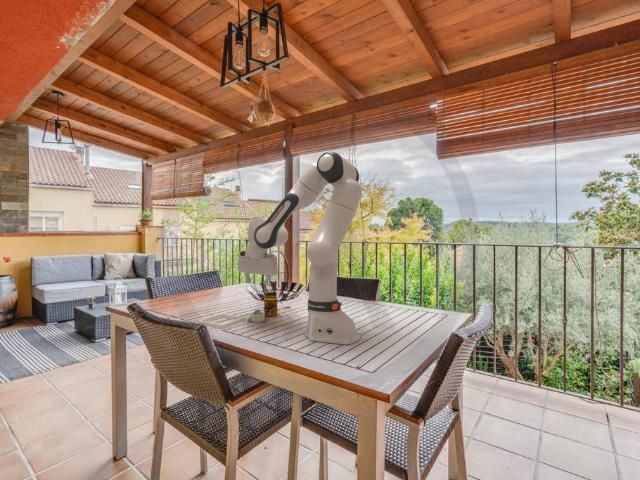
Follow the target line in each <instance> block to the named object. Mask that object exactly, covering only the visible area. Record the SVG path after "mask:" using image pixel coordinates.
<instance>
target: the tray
mask: <svg viewBox="0 0 640 480" xmlns="http://www.w3.org/2000/svg"><path fill="white" fill-rule="evenodd" d="M219 319H229V320H231V321H229V322H225V323H223V324H222V323H217V322H212V321H214V320H219ZM243 322H246V317H244V316H238V315H234V314H233V315H232V314H227V313H218V314H214V315H212V316H209V317H205V318H202V319H198V320H197V324H198V323H202V324H205V325H206V326H205V327H209V328H215V329H219V330H223V329H227V328H230V327H232V326H235V325H237V324H241V323H243Z"/></svg>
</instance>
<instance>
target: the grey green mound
mask: <svg viewBox="0 0 640 480" xmlns="http://www.w3.org/2000/svg"><path fill="white" fill-rule="evenodd" d="M254 312H255V315H260V312H261V309H255V310H254ZM247 322H249V323H253V324H259V323H261V324H262V323H265V322H268V317H265V320H264V321H261V322H253V321H251V317H250V318H249V319H247Z"/></svg>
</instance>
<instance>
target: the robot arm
mask: <svg viewBox="0 0 640 480" xmlns="http://www.w3.org/2000/svg"><path fill="white" fill-rule="evenodd" d="M359 173H360V172H359V171H358V169H357V168H356V167H355V166H354V165H353V164H352V163H351V162H350V161H349V160H348V159H347V158H345V157H344V156H342V155H340V154H339V153H337V152H334V151H325V152H324V153H322V154H320V156H319V157H318V159H317V161H314V162H311V163H310V164H309V165H308V166H307V167H306V169H305V170H303V172H302V173H301V175H299V177H298V179H297V180H296V182H295V183H294V185H293V186H292V187H291V188H290V190H289V192H288V193H286V195H285V197H284V198H283V199H282V200H281V201H280V202H279V204H278V205H277V206H276V208H275V209H274V210H273V211H272V213H271V214H270V215H269V217H268V218H267V217H266V216H256V217H253V218H251V219H249V222H248V227H247V238H248V244H247V248H246V249H242V250H241V251H239V252H238V259H237V270H238V271H237V272H239V273H244V276H245V279H246V283H248V284H251V283H252V282H253V281H252V278H251V277H250V275H251V274H253V275H264V276H265V277H264V278H265V280H263V282H262V283H263V285H265V286H268V285H269V281H270V280H271V276H277V275H278V273H279V268H278V267H279V266H278V257H277V255H275V254H274V253H268V249H270V248H275V247H277V248H278V247H281V246H284V245H285V244H286V243H287V242H288V240H289V231H288V229H287V228H286V226H285V227H284V224H285V223H286V222H287V220H289V217H290V216H291V215H292V214H294V213H295V212H298V210H301V209H305V208H308V207H310V206H311V205H312V204H313V203H315V201H316V200H317V199H318V198H319V196H320V195H321V192H322V191H323V190H324V189H325V187H326V186H327V185H332V186H333V192H332V195H331V197H330V199H329V202H328V204H327V206H326V209H325V210H324V213H323V216H322V217H321V220H320V222H319V224H318V226H317V227H316V230H315V231H314V234H313V236H312V238H311V241H310V242H309V244H308V246H307V250H306V251H307V252H306V255H307V258H308V260H309V262H310V270H309V278H308V279H309V280H308V287H309V288H308V299H307V312H308V314H307V322H306V328H305V332H304V336H305V337H307V338H308V340H309V341H310V342H318V343H328V344H334V345H335V344H337V345H351V344H355V343H357V342H358V341H360V339H361V338H362V333H361V332H359V331H356V324H355V321H354V320H353V318H351V317H350V316H349V315H348V314H347V313H346V312H344V311H343V310H342V308H341V306H342V305H343V301H339V300H338V299H337V297H338V296H337V295H338V292H337V291H338V290H337V289H338V285H337V284H338V265H339V264H338V263H339V249H340V247H341V245H342V243H343V241H344V239H345V236H346V235H347V232H348V230H349V228H350V226H351V223H352V222H353V219H354V216H355V214H356V212H357V209H358V207H359V203H360V200H361V198H362V192H363V187H362V185H361V184H360V182H359V180H360V174H359Z"/></svg>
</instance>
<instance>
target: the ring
mask: <svg viewBox="0 0 640 480" xmlns="http://www.w3.org/2000/svg"><path fill="white" fill-rule="evenodd" d="M250 318H251V321H253V322H261V321H264V320H265V318H266V317H265V313H264V311H260V315H255V311H253V312H250ZM261 323H262V322H261Z"/></svg>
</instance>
